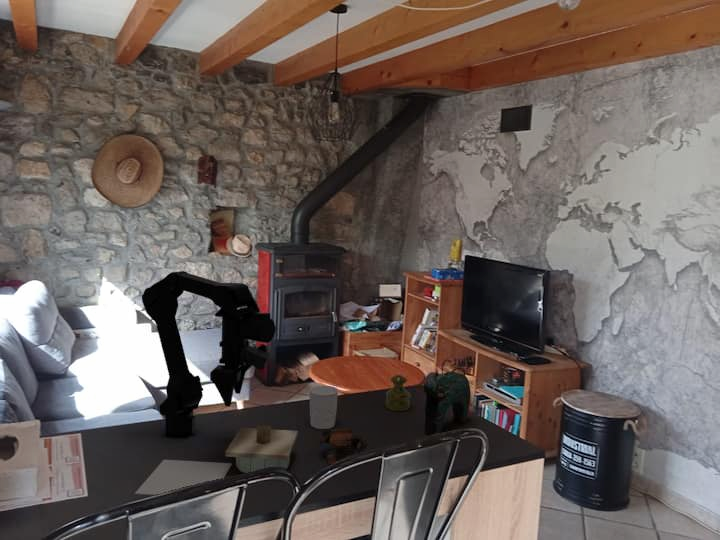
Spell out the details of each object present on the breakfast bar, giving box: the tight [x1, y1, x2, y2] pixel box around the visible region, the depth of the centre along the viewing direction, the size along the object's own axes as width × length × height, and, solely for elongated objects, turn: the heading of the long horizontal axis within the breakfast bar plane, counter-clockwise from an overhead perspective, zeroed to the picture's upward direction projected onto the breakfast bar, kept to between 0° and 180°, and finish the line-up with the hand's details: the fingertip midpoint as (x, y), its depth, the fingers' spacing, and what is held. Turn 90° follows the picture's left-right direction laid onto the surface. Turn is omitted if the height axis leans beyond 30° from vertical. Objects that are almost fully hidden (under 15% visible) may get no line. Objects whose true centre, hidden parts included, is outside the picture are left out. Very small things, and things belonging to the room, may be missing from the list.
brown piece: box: [318, 428, 368, 465], centre depth 144 cm, size 12×10×8 cm
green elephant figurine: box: [423, 358, 471, 436], centre depth 164 cm, size 20×6×20 cm, turn 139°
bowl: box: [235, 456, 291, 474], centre depth 137 cm, size 12×12×5 cm
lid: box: [224, 424, 299, 460], centre depth 137 cm, size 14×14×5 cm
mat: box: [134, 459, 233, 496], centre depth 129 cm, size 16×16×1 cm
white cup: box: [309, 385, 339, 430], centre depth 164 cm, size 8×8×10 cm
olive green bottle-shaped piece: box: [385, 374, 412, 412], centre depth 180 cm, size 7×7×10 cm
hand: (233, 399), depth 144 cm, fingers open, 9 cm apart
